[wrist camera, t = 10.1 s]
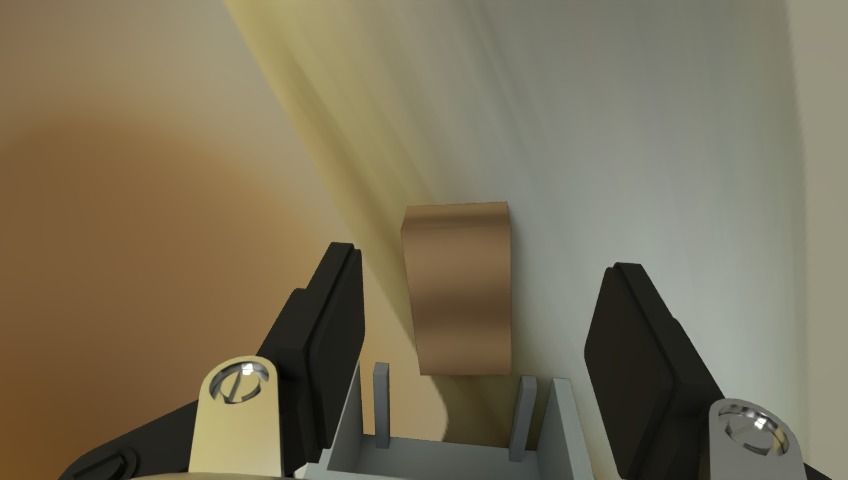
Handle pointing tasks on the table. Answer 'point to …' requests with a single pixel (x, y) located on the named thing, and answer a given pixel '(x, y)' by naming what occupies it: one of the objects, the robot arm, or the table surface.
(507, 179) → the table surface
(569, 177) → the table surface
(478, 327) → the brown rounded block
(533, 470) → the grey long box
